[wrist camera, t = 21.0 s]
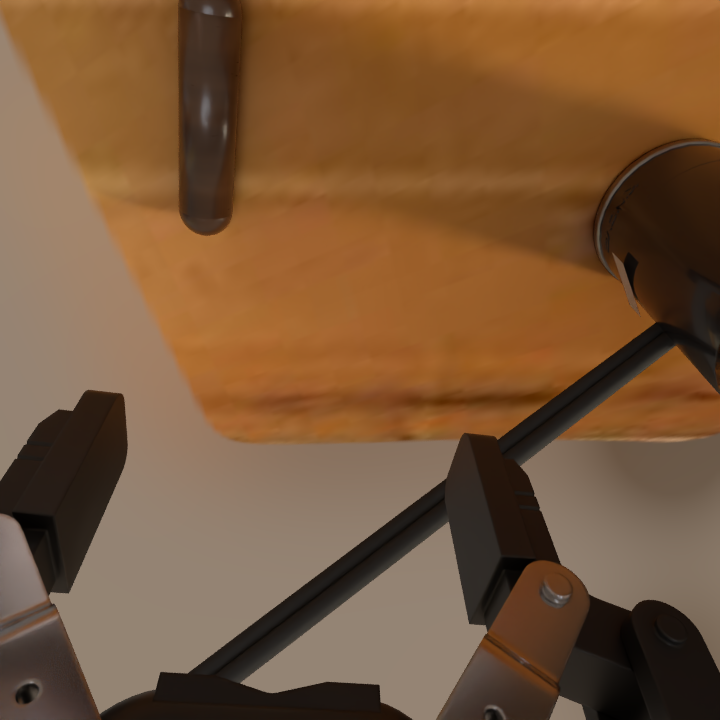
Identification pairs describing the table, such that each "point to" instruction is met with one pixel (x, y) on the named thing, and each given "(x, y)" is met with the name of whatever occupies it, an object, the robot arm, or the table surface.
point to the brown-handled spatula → (208, 111)
